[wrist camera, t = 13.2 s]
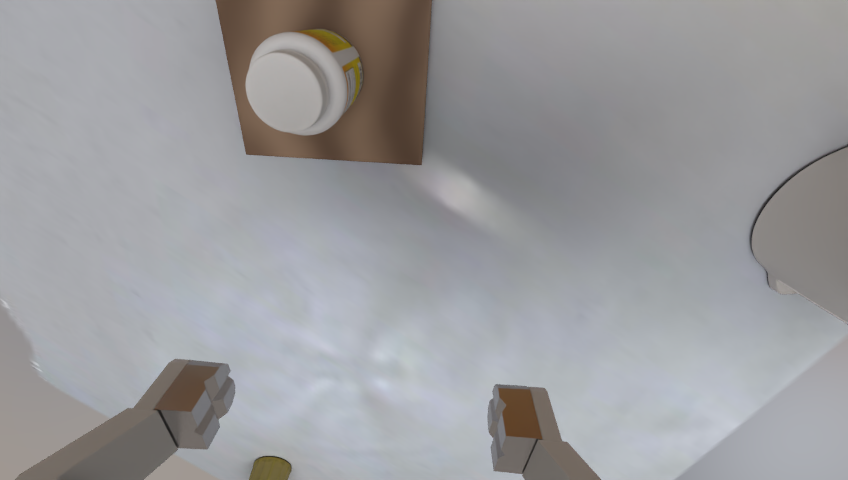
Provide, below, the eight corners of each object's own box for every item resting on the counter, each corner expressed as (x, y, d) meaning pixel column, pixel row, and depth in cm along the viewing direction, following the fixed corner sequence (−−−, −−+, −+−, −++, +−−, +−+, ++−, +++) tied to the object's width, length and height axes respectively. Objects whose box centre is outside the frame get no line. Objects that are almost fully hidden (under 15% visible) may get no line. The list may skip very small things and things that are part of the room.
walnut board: (433, -34, 25) (434, -37, 24) (421, 159, 32) (421, 165, 31) (216, -52, 25) (204, -56, 23) (253, 149, 32) (246, 154, 31)
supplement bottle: (276, 50, 27) (203, 64, 18) (341, 13, 25) (297, 10, 17) (318, 121, 29) (272, 163, 20) (378, 90, 28) (357, 122, 19)
